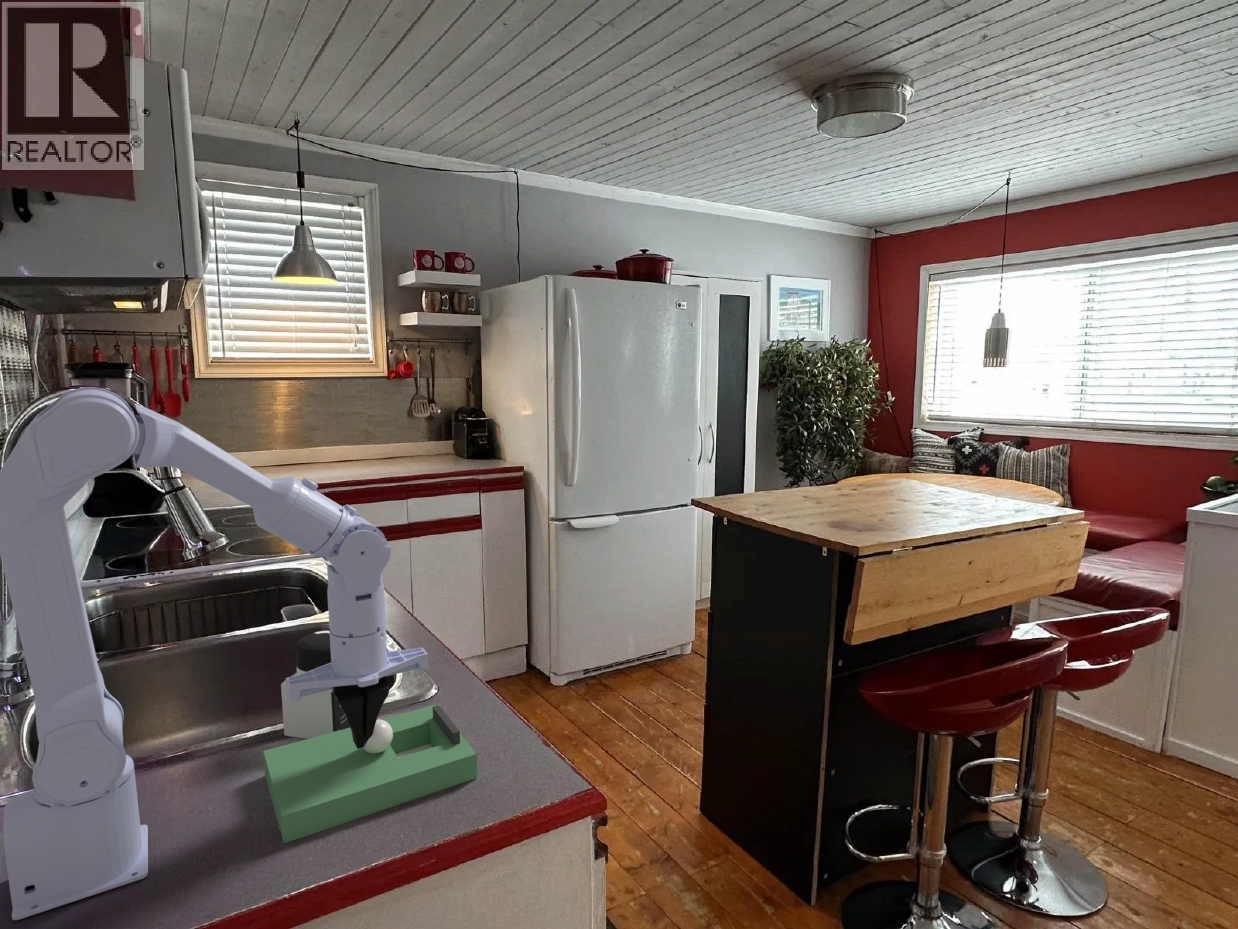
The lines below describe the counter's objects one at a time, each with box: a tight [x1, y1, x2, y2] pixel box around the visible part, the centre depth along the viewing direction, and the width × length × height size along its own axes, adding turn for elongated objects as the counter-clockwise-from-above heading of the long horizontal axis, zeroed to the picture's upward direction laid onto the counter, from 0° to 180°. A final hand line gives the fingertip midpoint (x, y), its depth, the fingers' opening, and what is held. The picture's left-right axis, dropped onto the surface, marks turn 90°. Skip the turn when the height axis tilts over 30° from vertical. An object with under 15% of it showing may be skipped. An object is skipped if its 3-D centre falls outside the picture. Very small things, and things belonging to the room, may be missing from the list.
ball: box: [363, 718, 393, 754], centre depth 79 cm, size 4×4×4 cm
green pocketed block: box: [262, 704, 478, 844], centre depth 79 cm, size 20×13×4 cm, turn 124°
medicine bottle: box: [280, 630, 350, 740], centre depth 89 cm, size 7×7×12 cm
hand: (363, 742), depth 78 cm, fingers closed, pressing on ball
